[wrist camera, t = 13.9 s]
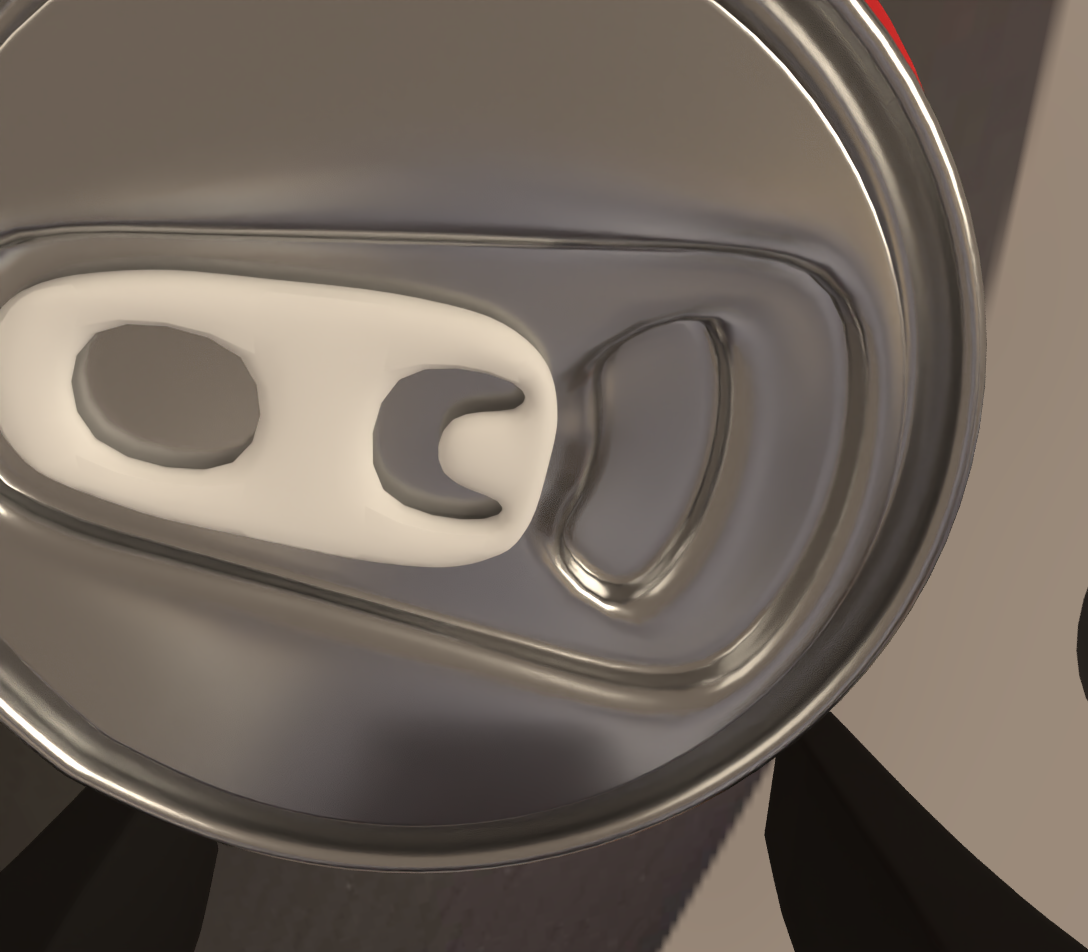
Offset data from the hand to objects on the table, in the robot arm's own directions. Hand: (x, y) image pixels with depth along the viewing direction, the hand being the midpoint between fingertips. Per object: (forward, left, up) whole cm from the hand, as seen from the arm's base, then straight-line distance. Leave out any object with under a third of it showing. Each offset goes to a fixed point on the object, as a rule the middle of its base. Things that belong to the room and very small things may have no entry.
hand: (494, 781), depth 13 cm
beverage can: (0, -7, -6) cm, 10 cm away
